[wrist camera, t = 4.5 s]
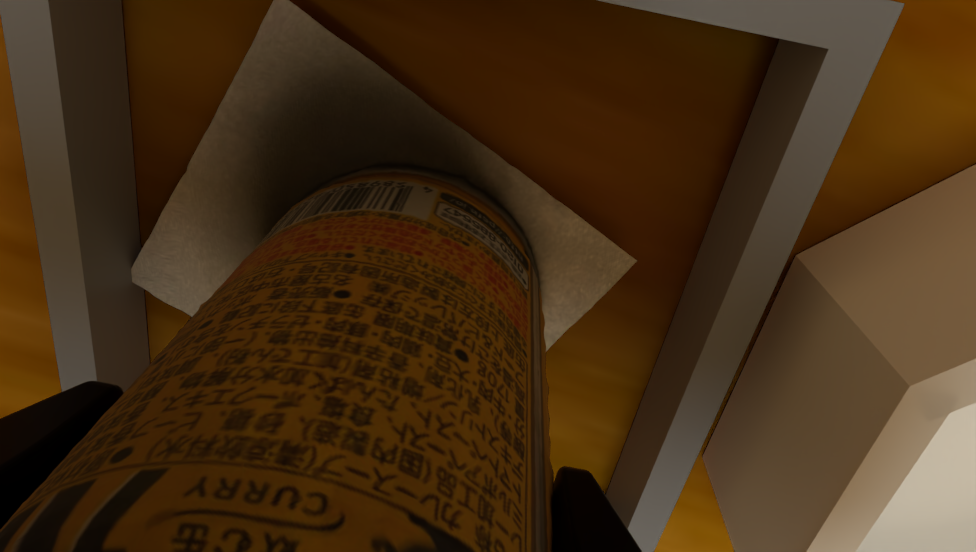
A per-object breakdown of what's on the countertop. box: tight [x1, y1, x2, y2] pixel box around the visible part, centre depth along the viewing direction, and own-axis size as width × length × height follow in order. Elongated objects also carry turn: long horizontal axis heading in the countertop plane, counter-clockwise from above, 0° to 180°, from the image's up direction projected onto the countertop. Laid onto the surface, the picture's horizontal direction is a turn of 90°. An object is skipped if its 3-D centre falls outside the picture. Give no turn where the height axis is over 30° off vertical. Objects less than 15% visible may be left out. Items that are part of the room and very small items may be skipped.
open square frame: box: [0, 0, 904, 552], centre depth 13 cm, size 14×14×2 cm
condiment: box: [0, 0, 637, 552], centre depth 8 cm, size 7×8×12 cm
